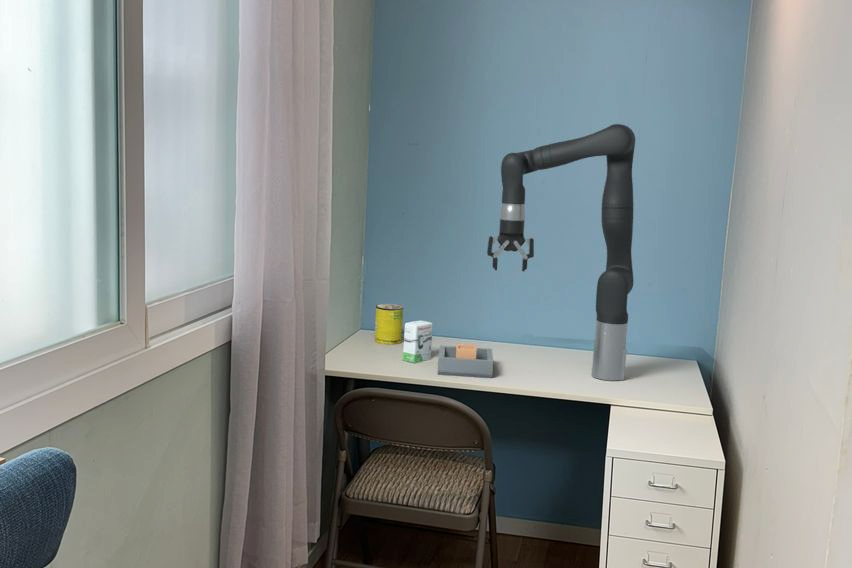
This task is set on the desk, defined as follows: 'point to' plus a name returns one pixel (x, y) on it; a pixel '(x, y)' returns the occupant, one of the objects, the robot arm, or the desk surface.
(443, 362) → the big crate
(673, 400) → the desk surface
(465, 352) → the box
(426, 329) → the ink box
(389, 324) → the yellow tin can
